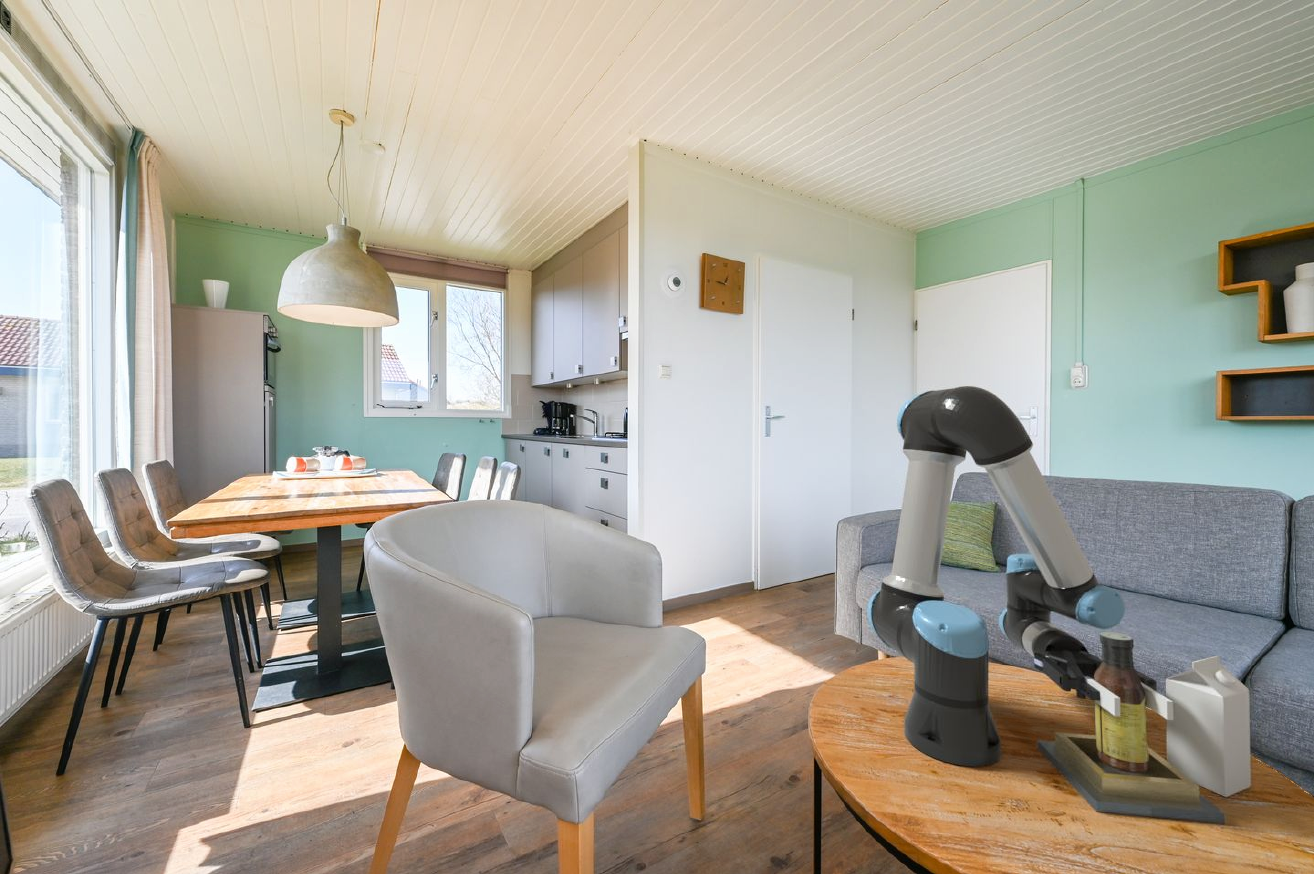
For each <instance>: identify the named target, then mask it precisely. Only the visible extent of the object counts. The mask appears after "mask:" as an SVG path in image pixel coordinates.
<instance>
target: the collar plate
mask: <svg viewBox="0 0 1314 874" xmlns="http://www.w3.org/2000/svg"><path fill="white" fill-rule="evenodd" d="M1036 746H1037V750H1038V751H1039V752H1040V753H1041V754H1042V755H1043V756H1044V758H1045V759H1046V760H1047V761H1049V763H1050V764H1051V765H1052V766H1053V767H1054V768H1055V770H1057V772H1059V774H1060V775H1061V776H1063V778H1064V779H1065V780H1066V781H1067V782H1068V783H1069V784H1070V785H1071V786H1072V787H1073V788H1074V789H1075V790H1076V791H1077V792H1078V793H1079V794H1080V796H1081V797H1083V799H1084V800H1085V801H1086V803H1088V804H1089V805H1090V807H1092V808H1093V809H1094V811H1095V812H1098V813H1105V814H1118V815H1128V816H1129V815H1130V816H1139V817H1147V818H1148V817H1150V818H1157V819H1158V818H1159V819H1170V820H1179V821H1180V820H1181V821H1191V822H1200V823H1209V822H1210V823H1211V824H1220V825H1226V813H1225V812H1224V811H1223V810H1222V809H1220V808H1219V807H1217V806H1216V805H1215V804H1214V803H1212V802H1211V801H1210V800H1208V798H1206V797H1205V796H1204V795H1202V793H1200V785H1198V784H1196V783H1195V782H1193V781H1192V780H1191V779H1190V778H1188V777H1187V776H1186V775H1184V774H1183V773H1182V772H1180V771H1179V770H1178V769H1176V768H1175V767H1174V766H1172V765H1171V764H1170V763H1169V762H1167V759H1165V758H1164V757H1162V756H1161V755H1159V754H1158V753H1157V752H1155V751H1154V750H1153V749H1151V748H1150V747H1149V746H1148V753H1149V760H1148V769H1147V771H1146V772H1144V773H1128V772H1125V771H1121V770H1118V769H1115V768H1113V767H1111V766H1109V765H1107V764H1106V763H1104V762H1103V761H1102V760H1101V759H1100V758H1099V756H1098V753H1097V750H1098V749H1097V746H1096V734H1095V735H1094V734H1085V733H1084V734H1081V733H1070V732H1069V733H1068V732H1057V731H1055V732H1054V741H1052V740H1051V741H1049V740H1037V745H1036Z"/></svg>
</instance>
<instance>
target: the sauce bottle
mask: <svg viewBox="0 0 1314 874" xmlns="http://www.w3.org/2000/svg"><path fill="white" fill-rule="evenodd" d="M1099 643H1100V644H1101V655H1102V656H1101V660H1102V663H1101V664H1100V666H1099V668H1098V669H1097V670H1096V671H1095V673H1094V679H1093V680H1094V681H1096V682H1097V683H1099V684H1100V685H1102V686H1103V687H1105V688H1106V689H1107V690H1109V691H1110V692H1112V693H1113V694H1115V695H1116V696H1118V697H1119V698H1120V716H1114V715H1113V714H1111V713H1110V712H1109V711H1107V710H1106V709H1105V708H1103V707H1102V706H1101V705H1099V704H1098V703H1097V702H1095V701H1094V700H1093V701H1094V702H1093V703H1094V704H1093V705H1094V722H1095V724H1094V725H1095V735H1096V746H1097V749H1098V750H1097V753H1098V756H1099V758H1100V759H1101V760H1102V761H1103V762H1104V763H1106V764H1107V765H1109V766H1111V767H1113V768H1115V769H1118V770H1121V771H1125V772H1128V773H1144V772H1146V771H1147V769H1148V760H1149V753H1148V747H1149V740H1148V723H1147V722H1148V719H1147V717H1148V716H1147V706H1146V696H1145V691H1144V688H1143V686H1142V684H1141V682H1140V679H1139V677H1138V675H1137V672H1136V670H1137V669H1136V668H1135V665H1134V664H1135V663H1134V657H1133V655H1134V653H1133V648H1134V647H1135V645H1134V639H1133V637H1132V636H1130V635H1128V634H1124V633H1121V632H1114V631H1102V632H1100V633H1099Z"/></svg>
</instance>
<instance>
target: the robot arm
mask: <svg viewBox="0 0 1314 874" xmlns="http://www.w3.org/2000/svg"><path fill="white" fill-rule="evenodd" d="M896 420H897V421H896V428H897V431H898V433H899V434H900V437H901V439H902V440H903V446H902V453H903V454H904V455H905V456H906V458H907V459H908V465H907V473H906V479H905V485H904V490H903V497H902V502H901V503H902V504H901V510H900V515H899V516H900V517H899V522H898V523H899V524H898V530H897V536H896V543H895V548H894V555H893V562H892V568H891V572H890V573H889V575H887V576H885V577H883V578H882V581H881V586H880V588H879V589H878V590H877V592H876V593H873V594H872V596H871V597H870V599H869V602H868V604H867V609H866V610H867V611H866V613H867V616H866V617H867V620H868V624H869V626H870V629H871V630H872V632H873V633H874V635H875V636H876V637H878V638H879V640H880V641H881V642H882V643H883V644H885V645H886V646H887V647H888V648H891V649H892V650H893V651H895V652H896V653H898V654H900V655H901V656H902V657H904V658H905V659H907V660H908V661H910V662H911V663H913V665H914V666H913V669H914V670H913V671H914V673H913V675H914V680H913V681H914V691H913V694H912V696H911V700H910V703H909V705H908V708H907V711H906V714H905V717H904V722H903V723H904V727H903V728H904V736H905V737H906V739H907V741H908V742H909V743H910V744H911V745H912V746H913V747H914V748H916V749H917V750H918V751H920V752H922V753H924V754H926V755H927V756H929V757H932V758H934V759H936V760H939V761H942V762H946V763H949V764H953V765H957V766H965V767H986V766H989V765H993V764H995V763H997V762H998V761H999V760H1000V759H1001V757H1002V740H1001V737H1000V733H999V731H998V729H997V726H996V725H997V724H996V723H995V720H994V717H993V714H992V712H991V711H992V710H991V709H990V705H989V704H990V703H989V701H990V700H989V698H990V697H989V691H990V690H989V674H990V673H989V666H990V665H989V663H990V662H989V661H990V660H989V652H990V651H989V649H990V640H989V634H988V627H987V623H986V622H985V620H984V619H983V618H982V616H980V615H979V614H978V613H977V612H975V611H974V610H972V609H971V608H968V607H965V606H963V605H961V604H954V603H953V602H950V601H944V599H945V593H944V591H943V590H942V589H941V588H940V586H939V584H938V583H939V577H940V570H941V563H942V556H943V550H944V544H945V543H944V542H945V537H946V536H945V535H946V529H947V523H948V518H949V517H948V516H949V511H950V503H951V497H952V490H953V484H954V477H955V471H956V467H957V466H959V465H960V464H962V463H963V462H964V461H965V460H966V458H967V457H966V456H967V453H968V454H969V455H970V456H971V457H972V459H973V461H974V463H975V465H976V466H978V467H980V468H984V469H985V471H986V473H987V475H988V476H989V479H990V480H991V482H992V484H993V486H994V488H995V490H996V491H997V493H998V495H999V497H1000V499H1001V501H1002V503H1003V505H1004V506H1005V508H1006V510H1007V512H1008V514H1009V516H1010V517H1011V520H1012V521H1013V523H1014V525H1015V527H1016V529H1017V531H1018V532H1019V534H1020V536H1021V538H1022V540H1023V542H1024V544H1025V545H1026V548H1027V550H1028V551H1029V553H1014V554H1010V555H1009V556H1008V557H1007V558H1006V559H1007V561H1006V572H1005V575H1006V600H1007V601H1006V602H1007V603H1006V604H1007V605H1006V608H1004V609H1003V610H1002V612H1001V614H1000V616H999V617H998V626H999V628H1000V630H1001V631H1000V632H1002V633H1003V635H1004V636H1006V637H1007V639H1008V640H1009V641H1010V642H1011V643H1013V644H1014V645H1016V646H1018V647H1019V648H1021V649H1022V650H1024V651H1025V652H1026V653H1027V654H1028V655H1030V656H1032V657H1033V662H1034V663H1033V665H1034V666H1033V667H1034V668H1035V669H1036V670H1038V671H1041V672H1042V673H1043V674H1045V675H1046V676H1047V678H1049V679H1050V680H1051V681H1052V682H1054V683H1055V685H1056V686H1057V687H1059V688H1060V689H1061V690H1062V691H1064V692H1071V691H1072V690H1075V693H1076V697H1077V698H1078V699H1080V700H1081V699H1082V700H1085V699H1087V698H1088V699H1090V700H1092V701H1095V702H1097V703H1098V704H1099V705H1101V706H1102V707H1103V708H1105V709H1106V710H1107V711H1109V712H1110V713H1111V714H1113V715H1114V716H1120V698H1119V697H1118V696H1116V695H1115V694H1113V693H1112V692H1110V691H1109V690H1107V689H1106V688H1105V687H1103V686H1102V685H1100V684H1099V683H1097V682H1096V681H1094V673H1095V671H1096V670H1097V669H1098V668H1099V666H1100V664H1101V663H1102V658H1100V657H1099V656H1097V655H1094V654H1091V653H1090V652H1089V651H1088V649H1087V647H1086V646H1085V645H1084V643H1083V642H1081V641H1080V640H1079V639H1077V638H1076V637H1074V636H1073V635H1072V634H1071V635H1070V633H1068V632H1066V631H1064V630H1062V629H1061V628H1060V627H1057V626H1056V625H1054V624H1053V623H1051V621H1052V620H1051V619H1052V618H1051V613H1052V612H1053V613H1055V614H1058V615H1059V616H1060V615H1061V616H1063V617H1065V618H1068V619H1070V620H1073V621H1074V622H1075V621H1076V622H1078V623H1079V624H1082V625H1086V626H1090V627H1093V628H1096V629H1100V630H1108V629H1112V628H1114V627H1115V626H1118V625H1119V624H1120V623H1121V622H1122V620H1123V618H1124V617H1125V613H1126V605H1125V600H1124V597H1122V595H1121V594H1120V593H1119V592H1117V591H1116V590H1114V589H1112V588H1111V587H1108V586H1107V585H1105V584H1104V585H1103V584H1100V583H1099V581H1098V578H1097V577H1096V575H1095V573H1094V572H1093V569H1092V567H1091V566H1090V564H1089V562H1088V560H1087V558H1086V556H1085V554H1084V552H1083V551H1082V548H1081V546H1080V544H1079V542H1078V541H1077V539H1076V536H1075V534H1074V533H1073V531H1072V529H1071V527H1070V526H1069V523H1068V521H1067V519H1066V518H1065V516H1064V514H1063V512H1062V510H1061V508H1060V506H1059V505H1058V502H1057V501H1056V499H1055V497H1054V495H1053V493H1052V492H1051V489H1050V487H1049V486H1048V483H1047V482H1046V480H1045V478H1044V476H1043V474H1042V472H1041V470H1040V468H1039V467H1038V464H1037V463H1036V460H1035V459H1034V456H1033V455H1032V453H1031V451H1032V449H1033V446H1034V443H1033V441H1032V439H1031V437H1030V435H1029V434H1028V432H1027V430H1026V428H1025V427H1024V425H1023V423H1022V422H1021V421H1020V419H1019V417H1017V415H1016V414H1015V412H1013V411H1012V409H1011V408H1010V407H1009V405H1007V404H1006V403H1005V401H1003V400H1002V399H1001V398H999V396H997V395H996V394H994V393H993V392H990V391H989V390H987V389H986V388H985V389H984V388H981V387H978V386H973V385H972V386H971V385H963V386H958V387H953V388H945V389H937V390H927V391H924V392H921V393H919V394H917V395H914V396H913V397H910V399H908V400H906V402H905V403H903V405H902V406H901V408H900V409H899V412H898V414H897V419H896ZM1135 670H1136V672H1137V675H1138V677H1139V679H1140V682H1141V684H1142V686H1143V688H1144V691H1145V696H1146V708H1147V707H1148V708H1149V709H1151V710H1152V711H1153V712H1155V713H1156V714H1158V715H1160V716H1161V717H1162V718H1164V719H1165V720H1166V719H1167V720H1173V701H1171V700H1169V699H1168V698H1166V696H1165V695H1163V694H1162V693H1160V692H1159V691H1158V690H1157V688H1158V687H1157V686H1158V684H1157V680H1156V679H1153V678H1152V677H1149V676H1147V675H1146V674H1144V673H1142V672H1140V671H1138V670H1137V669H1135ZM1087 677H1088V678H1087ZM1086 678H1087V679H1086Z"/></svg>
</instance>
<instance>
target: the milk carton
mask: <svg viewBox="0 0 1314 874" xmlns="http://www.w3.org/2000/svg"><path fill="white" fill-rule="evenodd" d="M1191 665H1192V666H1191V669H1189V670H1186V671H1184V672H1181V673H1177V674H1175V675H1172V676H1169V677H1166V678H1165V697H1166V698H1168V699H1169V700H1171V701H1173V720H1167V719H1165V720H1166V724H1165V725H1166V761H1167V762H1169V763H1170V764H1171V765H1172V766H1174V767H1175V768H1176V769H1178V770H1179V771H1180V772H1182V773H1183V774H1184V775H1186V776H1187V777H1188V778H1190V779H1191V780H1192V781H1193V782H1195V783H1196V784H1197V785H1199V787H1202V788H1204V789H1206V790H1209V791H1211V792H1214V793H1216V794H1218V795H1219V796H1222V797H1224V798H1228V797H1230V796H1233V795H1235V794H1237V793H1239V792H1242V791H1243V790H1247V789H1249V788H1250V787H1251V785H1252V778H1251V777H1252V776H1251V773H1252V772H1251V728H1250V727H1251V720H1250V719H1251V718H1250V717H1251V715H1250V707H1251V706H1250V690H1249V688H1248V687H1246V686H1245V684H1243V683H1242V682H1241V681H1240V680H1239V679H1238V677H1236V676H1235V675H1234V674H1233V673H1232V672H1231V671H1229V670H1228V669H1227V668H1226V667H1225V666H1224V665H1223V663H1222V664H1221V662H1220V655H1214V656H1210V657H1207V658H1202V659H1198V660H1195V661H1191Z"/></svg>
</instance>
